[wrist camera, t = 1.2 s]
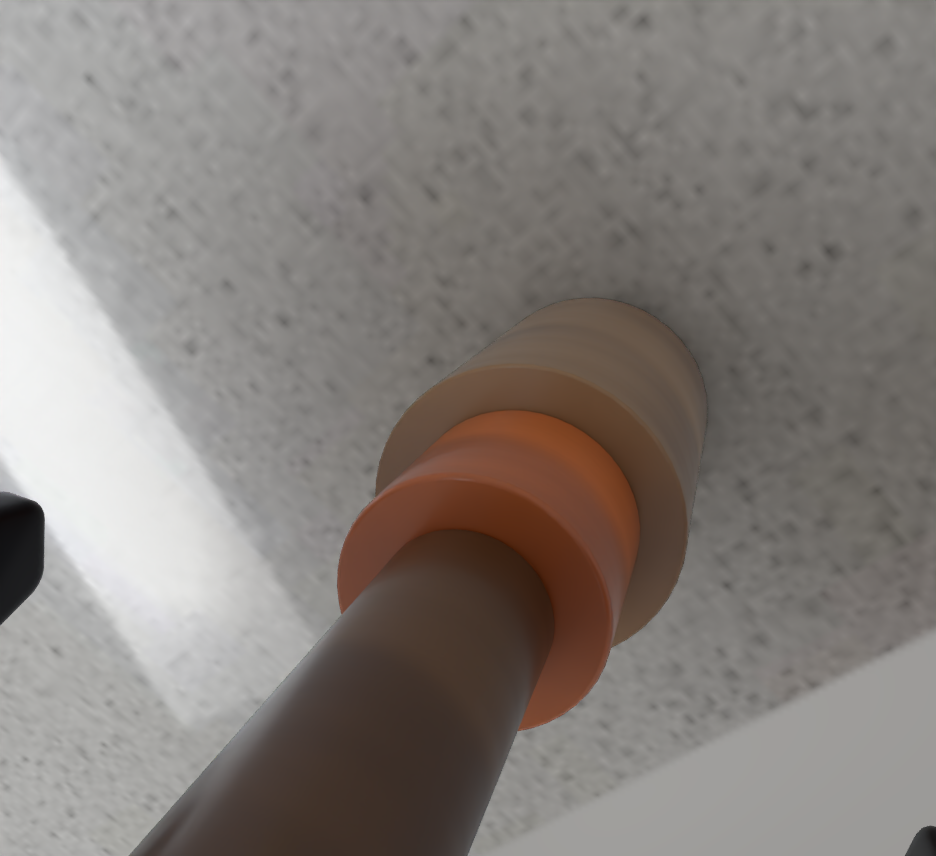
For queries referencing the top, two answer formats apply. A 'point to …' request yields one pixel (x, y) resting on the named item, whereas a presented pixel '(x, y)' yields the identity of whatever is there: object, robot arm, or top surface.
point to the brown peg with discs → (430, 653)
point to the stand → (590, 418)
